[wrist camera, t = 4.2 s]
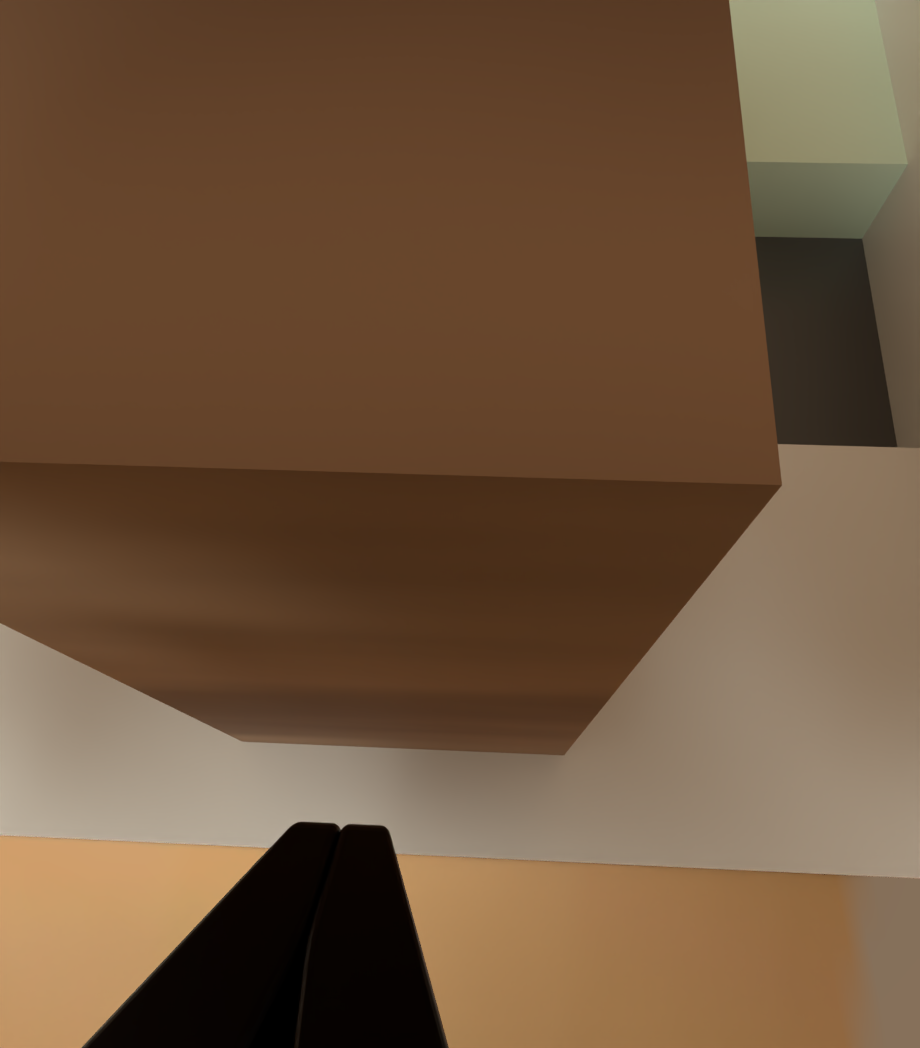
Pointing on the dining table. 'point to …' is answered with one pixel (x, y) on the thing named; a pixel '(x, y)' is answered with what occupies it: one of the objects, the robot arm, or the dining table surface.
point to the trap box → (704, 622)
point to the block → (374, 354)
